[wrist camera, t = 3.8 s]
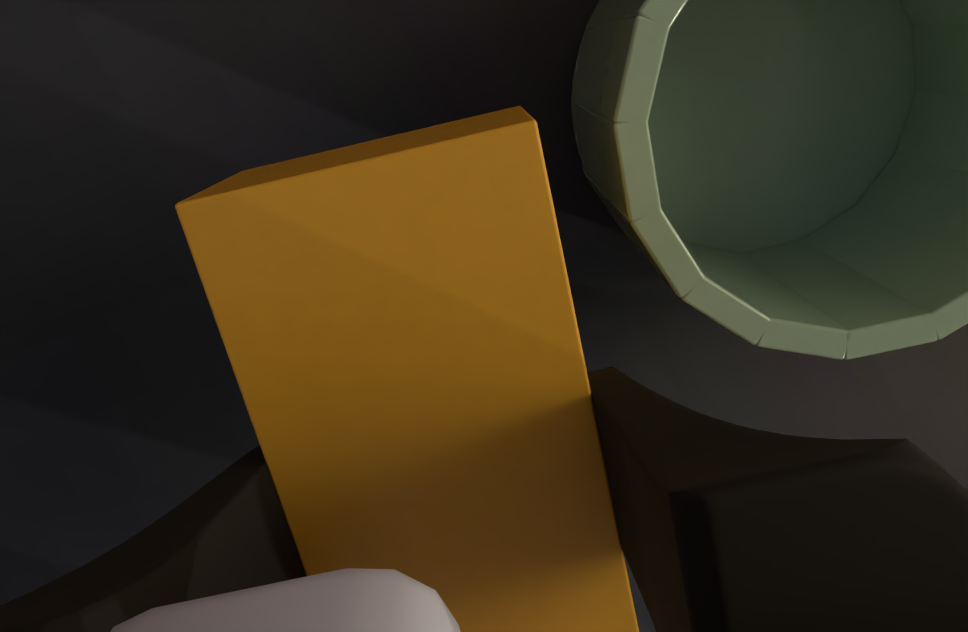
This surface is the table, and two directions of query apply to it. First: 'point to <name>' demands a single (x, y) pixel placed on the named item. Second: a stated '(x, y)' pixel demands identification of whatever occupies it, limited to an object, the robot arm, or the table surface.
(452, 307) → the block
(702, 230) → the cup
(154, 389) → the table surface
